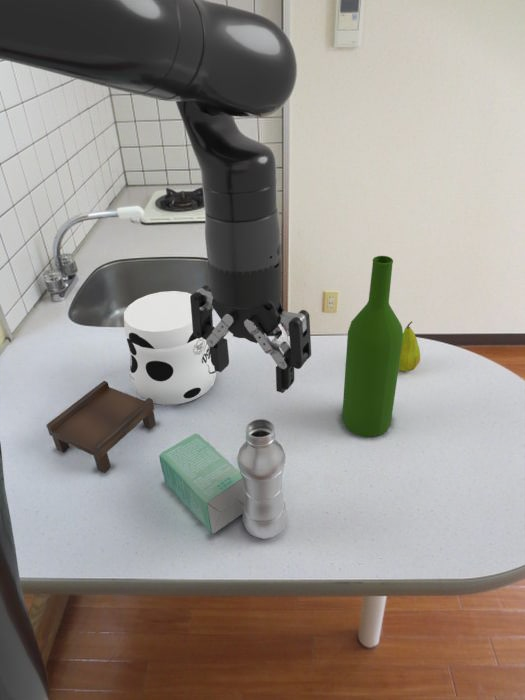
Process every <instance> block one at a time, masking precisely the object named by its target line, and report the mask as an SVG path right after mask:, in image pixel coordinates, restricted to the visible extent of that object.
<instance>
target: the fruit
mask: <svg viewBox="0 0 525 700" xmlns="http://www.w3.org/2000/svg"><path fill="white" fill-rule="evenodd" d="M412 323H413V321H412V320H411V321H410V322H409V323H408V324H407V326H406V327H405V328H404V330H403V340H402V347H401V355H400V362H399V369H398V371H400V372H410V371H413V370H415V369H416V367H417V366H418V365H419V363H420V362H421V351H420V350H421V349H420V347H419V346H420V345H419V343H418V339H417V337H416V333H415V332H414V330H413V329H412V328H411V324H412Z"/></svg>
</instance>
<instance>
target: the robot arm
mask: <svg viewBox="0 0 525 700" xmlns="http://www.w3.org/2000/svg"><path fill="white" fill-rule="evenodd" d="M0 60H2V61H7V62H9V63H10V62H11V63H15V64H19V65H23V66H27V67H31V68H34V69H38V70H42V71H45V72H50V73H53V74H57V75H60V76H64V77H67V78H72V79H76V80H79V81H82V82H86V83H90V84H93V85H98V86H101V87H105V88H109V89H114V90H116V91H121V92H125V93H128V94H133V95H137V96H142V97H145V98H150V99H154V100H159V101H166V102H175V105H176V108H177V110H178V112H179V116H180V118H181V120H182V123H183V126H184V128H185V131H186V134H187V136H188V140H189V142H190V146H191V148H192V150H193V151H192V152H193V153H194V156H195V158H196V161H197V163H198V166H199V170H200V174H201V177H200V178H201V187H202V197H203V206H204V214H205V215H204V216H205V217H204V219H205V221H204V238H205V247H206V249H205V250H206V257H207V268H208V276H209V277H208V278H209V286H208V285H207V284H206V285H205V284H204V285H203V286H201V287H200V288H198V289H197V290H196V291H194V292H193V293H191V294H192V295H191V296H190V302H191V314H192V327H193V334H194V336H195V337H196V338H198V339H200V338H201V337H202V338H203V339H205V340H206V343H207V344H208V345H209V348H210V356H211V362H212V365H213V366H214V369H215V371H217V373H223V371H224V370H225V369H226V368H227V367H228V366H229V365H230V356H229V346H228V345H229V344H228V339H227V338H225V337H226V336H227V335H228V333H231V334H232V336H233V337H234V338H237V339H245V340H247V341H248V342H251V343H255V344H258V345H259V346H260V348H261V349H262V350H263V352H264V353H265V354H267V355H270V356H271V358H272V360H273V361H274V362H275V364H276V366H275V387H276V389H275V390H276V392H278V393H281V394H284V393H285V392H286V391H288V390H289V389H290V387H292V385H293V384H294V382H295V369H296V370H300V369H301V368H302V367H303V366H304V364H306V362H307V361H308V360H309V359H310V357H312V339H311V321H310V313H309V312H308V311H307V310H305V309H301V310H299V311H298V312H297V313H296V312H291V311H286V310H285V308H284V307H283V305H282V302H281V301H282V300H281V299H282V291H283V280H282V279H283V278H282V276H283V275H282V251H283V250H282V249H283V246H282V232H281V223H280V218H279V209H278V173H277V158H276V156H275V153H274V151H273V149H272V148H270V146H268V145H266V144H265V143H263V142H260V141H258V140H255V139H253V138H251V137H248V136H247V135H245V134H244V133H243V132H241V130H240V128H239V127H238V125H237V123H236V120H235V118H234V117H238V118H239V117H240V118H251V119H252V118H255V119H258V118H261V119H262V118H267V117H270V116H272V115H274V114H276V113H277V112H278V111H280V110H282V109H283V108H284V106H285V105H287V103H288V101H289V100H290V98H291V96H292V94H293V92H294V89H295V87H296V82H297V76H298V63H297V62H298V61H297V56H296V53H295V50H294V46H293V44H292V42H291V40H290V39H289V37H288V35H287V34H286V33H285V31H284V30H283V29H282V28H281V27H280V26H279V25H278V24H277V23H276V22H274V21H273V20H271V19H270V18H267V17H265V16H264V15H260V14H257V13H254V12H251V11H248V10H245V9H242V8H237V7H234V6H230V5H227V4H223V3H218V2H213V1H208V0H0ZM213 309H214V311H215V313H216V314H217V316H218V317H219V319H220V320H219V322H218V324H217V325H216V326H215V327H214V321H213V320H214V319H213ZM283 325H284V326H283ZM284 327H285V328H284ZM272 333H273V336H274V337H273V339H272V340H271V339H270V338H269V336H270V335H271V334H272ZM4 474H5V473H4V463H3V452H2V443H1V442H0V700H50V680H49V675H48V671H47V667H46V663H45V660H44V657H43V655H42V652H41V649H40V646H39V643H38V640H37V637H36V634H35V630H34V627H33V624H32V621H31V618H30V615H29V611H28V607H27V604H26V600H25V596H24V592H23V587H22V584H21V578H20V577H21V576H20V571H19V570H20V569H19V564H18V557H17V550H16V544H15V543H16V542H15V538H14V537H15V536H14V532H13V524H12V519H11V515H10V514H11V513H10V508H9V502H8V496H7V491H6V484H5V475H4Z"/></svg>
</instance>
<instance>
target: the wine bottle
mask: <svg viewBox="0 0 525 700" xmlns="http://www.w3.org/2000/svg"><path fill="white" fill-rule="evenodd" d="M393 264H394V259H393V258H392V257H390V256H388V255H377V256H375V257H373V258H372V267H371V275H370V285H369V293H368V300H367V302H366V304H365V305H364V307H362V309H361V310H360V311H359V312H358V313H357V315H356V316H354V318H353V319H352V320H351V322H350V324H349V327H348V331H347V339H346V353H345V354H346V355H345V369H344V381H343V382H344V384H343V385H344V386H343V400H342V412H341V419H342V423H343V426H344V427H345V428H346V429H347V431H349V432H351V434H353V435H356V436H359V437H362V438H376V437H381V436H382V435H383V434H385V433H386V432H388V430H389V429H390V428H391V425H392V418H393V411H394V406H395V405H394V404H395V396H396V389H397V384H398V383H397V382H398V374H399V370H398V369H399V362H400V355H401V347H402V340H403V333H404V330H403V326H402V323H401V321H400V320H399V318H398V317H397V315H396V314H395V311H394V310H393V308H392V307H391V305H390V294H391V284H392V283H391V282H392V272H393Z"/></svg>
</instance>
